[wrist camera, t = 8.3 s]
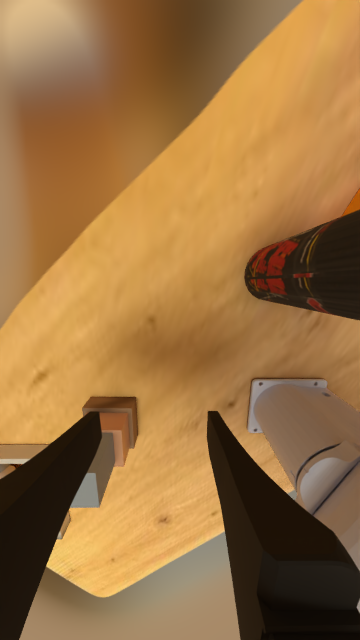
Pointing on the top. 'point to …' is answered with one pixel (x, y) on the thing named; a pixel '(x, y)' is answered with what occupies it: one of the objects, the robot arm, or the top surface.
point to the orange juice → (353, 204)
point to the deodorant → (312, 269)
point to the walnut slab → (116, 411)
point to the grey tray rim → (20, 456)
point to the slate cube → (97, 475)
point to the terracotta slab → (117, 434)
